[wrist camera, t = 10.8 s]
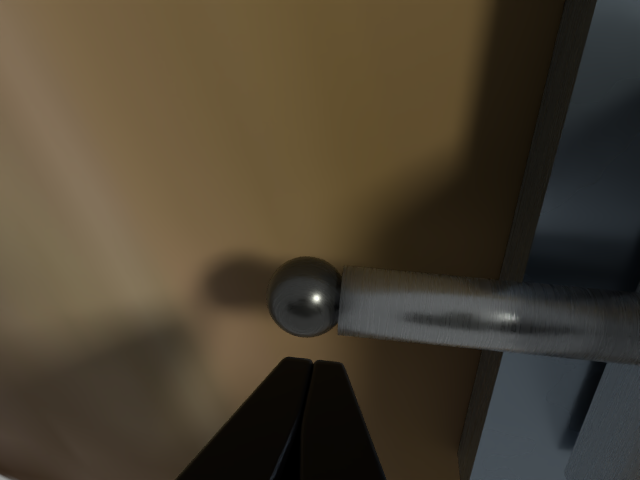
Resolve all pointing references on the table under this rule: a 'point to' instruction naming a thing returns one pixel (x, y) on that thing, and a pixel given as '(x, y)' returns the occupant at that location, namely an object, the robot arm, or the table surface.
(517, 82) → the table surface
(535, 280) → the vise
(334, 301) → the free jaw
